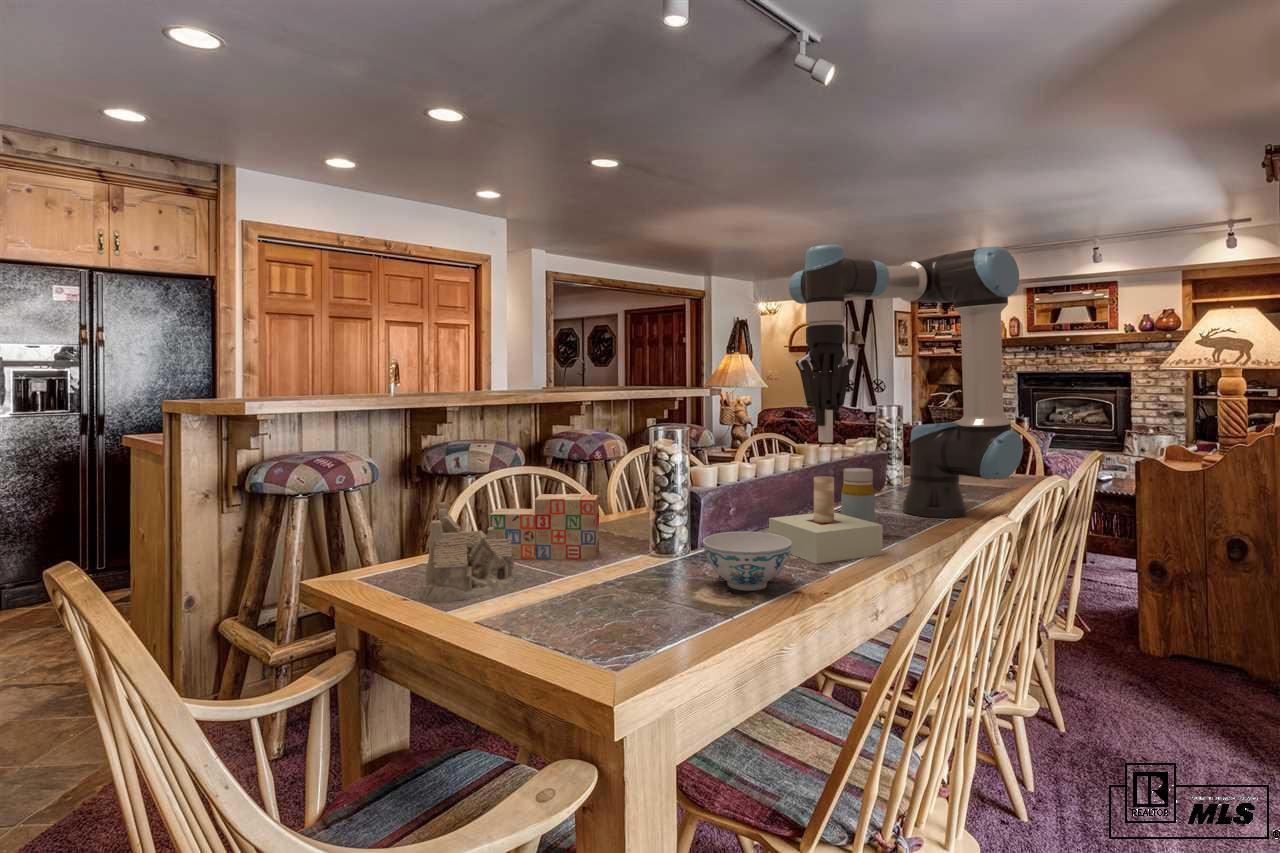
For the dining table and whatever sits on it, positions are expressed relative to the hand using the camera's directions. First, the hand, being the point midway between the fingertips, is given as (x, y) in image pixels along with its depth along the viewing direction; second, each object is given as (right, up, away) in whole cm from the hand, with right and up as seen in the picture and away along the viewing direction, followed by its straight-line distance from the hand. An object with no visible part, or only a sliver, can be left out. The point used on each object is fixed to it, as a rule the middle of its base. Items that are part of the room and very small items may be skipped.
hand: (825, 441), depth 146 cm
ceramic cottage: (-67, -25, -21) cm, 75 cm away
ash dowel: (0, -21, +1) cm, 21 cm away
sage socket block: (0, -22, +1) cm, 22 cm away
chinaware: (-19, -24, -22) cm, 38 cm away
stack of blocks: (-57, -24, +1) cm, 61 cm away
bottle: (+10, -22, +13) cm, 27 cm away
